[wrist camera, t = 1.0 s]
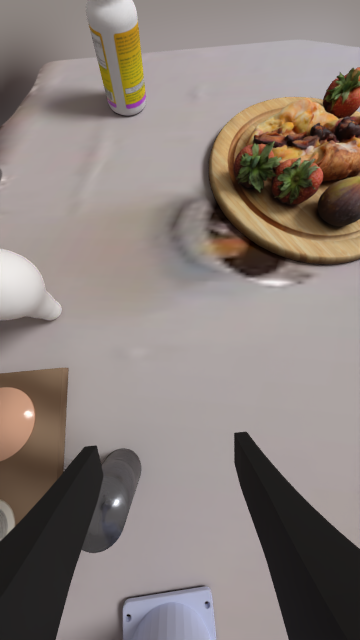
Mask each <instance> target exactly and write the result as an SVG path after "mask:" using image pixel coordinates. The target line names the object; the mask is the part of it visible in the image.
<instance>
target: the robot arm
mask: <svg viewBox="0 0 360 640" xmlns="http://www.w3.org/2000/svg"><path fill="white" fill-rule="evenodd" d="M234 452H235V467H236V471H237V475H238V479H239V482H240V486H241V489H242V492H243V495H244V498H245V501H246V503H247V506H248V509H249V512H250V515H251V517H252V520H253V523H254V526H255V529H256V531H257V534H258V537H259V540H260V543H261V545H262V548H263V551H264V554H265V558H266V561H267V564H268V567H269V571H270V574H271V578H272V581H273V585H274V588H275V592H276V595H277V599H278V602H279V606H280V609H281V613H282V617H283V620H284V624H285V627H286V631H287V635H288V638H289V640H360V549H359V548H358V547H357V546H356V545H354V544H353V543H352V542H351V541H350V540H348V539H347V538H346V537H345V536H344V535H343V534H341V533H340V532H339V531H338V530H337V529H336V528H335V527H334V526H333V525H331V524H330V523H329V522H328V521H327V520H326V519H325V518H324V517H323V516H322V515H321V514H320V513H319V512H318V511H316V510H315V509H314V508H313V507H312V506H311V505H310V504H309V503H308V502H307V501H306V500H305V499H304V498H303V497H302V496H301V495H300V494H299V493H298V492H297V491H296V490H295V488H294V487H293V486H292V485H291V484H290V483H289V482H288V481H287V480H286V479H285V478H284V477H283V476H282V474H281V473H280V472H279V471H278V470H277V469H276V468H275V466H274V465H273V464H272V463H271V462H270V461H269V459H268V458H267V457H266V456H265V455H264V453H263V452H262V451H261V450H260V448H259V447H258V446H257V445H256V443H255V442H254V441H253V440H252V438H251V437H250V436H249V434H248V433H247V432H239V433H234ZM103 476H104V475H103V470H102V466H101V462H100V458H99V454H98V449H97V446H87V447H84V448H83V449H82V451H81V452H80V453H79V454H78V455H77V457H76V458H75V459H74V460H73V461H72V463H71V464H70V465H69V466H68V467H67V469H66V470H65V471H64V472H63V473H62V475H61V476H60V477H59V478H58V479H57V480H56V482H55V483H54V484H53V485H52V486H51V487H50V489H49V490H48V491H47V492H46V493H45V494H44V495H43V497H42V498H41V499H40V500H39V501H38V502H37V503H36V504H35V505H34V507H33V508H32V509H31V510H30V511H29V512H28V513H27V514H26V515H25V516H24V517H23V519H22V520H21V521H20V522H19V523H18V524H17V525H16V526H15V527H14V528H13V529H12V530H11V531H10V532H9V533H8V534H7V535H6V536H5V537H4V538H3V539H2V540H1V541H0V640H56V636H57V632H58V628H59V624H60V620H61V617H62V613H63V609H64V605H65V602H66V598H67V594H68V591H69V587H70V583H71V580H72V577H73V573H74V570H75V567H76V564H77V561H78V558H79V555H80V552H81V549H82V546H83V543H84V540H85V537H86V534H87V532H88V529H89V526H90V523H91V520H92V517H93V514H94V511H95V508H96V505H97V502H98V498H99V494H100V490H101V485H102V481H103ZM206 601H209V603H208V604H205V602H206ZM127 614H130V615H131V616H130V617H128V616H127ZM123 640H216V632H215V622H214V612H213V602H212V594H211V590H210V588H209V587H206V586H205V587H198V588H192V589H186V590H180V591H173V592H167V593H161V594H155V595H148V596H142V597H136V598H130V599H127V600H126V601H125V602H124V605H123Z"/></svg>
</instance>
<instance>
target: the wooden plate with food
mask: <svg viewBox="0 0 360 640" xmlns="http://www.w3.org/2000/svg"><path fill="white" fill-rule="evenodd" d="M326 91H327V92H326V94H325V96H324V99H323V100H321V99H316V98H306V97H284V98H277V99H272V100H267V101H264V102H261V103H258V104H255V105H253V106H250V107H248V108H246V109H245V110H243V111H241V112H240V113H238V114H237V115H236V116H234V117H233V118H232V119H231V120H230V121H229V122H228V123H227V124H226V125H225V126H224V127H223V129H222V130H221V131H220V133H219V134H218V136H217V138H216V140H215V141H214V144H213V147H212V150H211V154H210V160H209V180H210V185H211V188H212V191H213V194H214V197H215V199H216V201H217V203H218V205H219V207H220V208H221V210H222V212H223V213H224V214H225V216H226V217H227V219H228V220H229V221H230V222H231V223H232V224H233V225H234V226H235V227H236V228H237V229H238V230H239V231H240V232H241V233H242V234H244V235H245V236H246V237H247V238H249V239H250V240H251V241H253V242H254V243H256V244H257V245H259V246H261V247H263V248H265V249H266V250H268V251H270V252H272V253H275V254H277V255H279V256H282V257H285V258H288V259H291V260H295V261H300V262H305V263H313V264H339V263H347V262H351V261H355V260H358V259H360V112H357V111H356V110H357V109H358V108H359V106H360V67H359V68H357V69H355V70H354V68H352V69H351V70H350V71H349V73H348V74H347V75H345V76H343V75H342V74H341V73H340V75H339V76H337V79H335V80H334V81H332V83H331V84H330V86H329V88H328V89H327V90H326Z"/></svg>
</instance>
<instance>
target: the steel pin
mask: <svg viewBox="0 0 360 640" xmlns="http://www.w3.org/2000/svg"><path fill="white" fill-rule="evenodd" d="M101 466H102V470H103V475H104V476H103V481H102V485H101V490H100V494H99V498H98V502H97V505H96V508H95V511H94V514H93V517H92V520H91V523H90V526H89V529H88V532H87V534H86V537H85V540H84V543H83V546H82V549H81V550H83V551H85V552H89V553H98V552H102V551H104V550H106V549H108V548H109V547H111V546H112V545H113V544H114V543H115V542H116V541H117V539H118V538H119V536H120V535H121V533H122V531H123V528H124V525H125V522H126V519H127V516H128V513H129V509H130V506H131V503H132V500H133V497H134V494H135V491H136V488H137V484H138V481H139V478H140V475H141V463H140V460H139V458H138V456H137V455H136V454H135V453H134V452H133V451H132V450H129V449H118V450H116V451H114V452H112V453H111V454H110V455H109V456H108V457H107V459H106V460H105V461H104V463H103V464H102V465H101Z"/></svg>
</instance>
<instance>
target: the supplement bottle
mask: <svg viewBox="0 0 360 640" xmlns="http://www.w3.org/2000/svg"><path fill="white" fill-rule="evenodd" d="M86 14H87V19H88V23H89V27H90V31H91V35H92V39H93V43H94V47H95V51H96V56H97V60H98V64H99V68H100V72H101V76H102V80H103V84H104V88H105V92H106V97H107V100H108V103H109V106H110V107H111V109H112V110H113V111H114V112H116V113H118V114H121V115H134V114H137V113H139V112H140V111H142V109H143V108H144V107H145V104H146V94H145V85H144V76H143V66H142V57H141V47H140V38H139V28H138V19H137V12H136V8H135V5H134V3H133V1H132V0H88V1H87V4H86Z"/></svg>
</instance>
